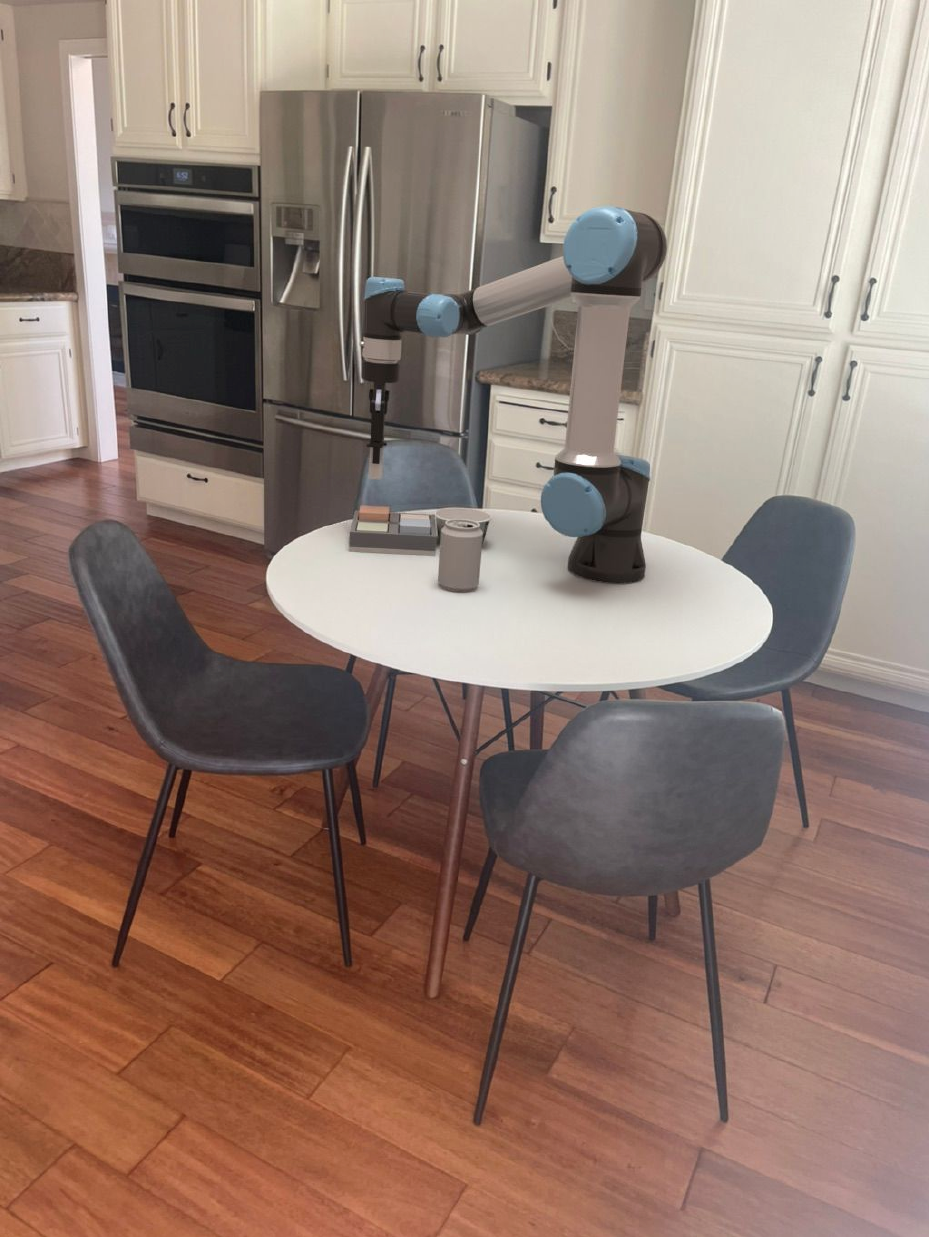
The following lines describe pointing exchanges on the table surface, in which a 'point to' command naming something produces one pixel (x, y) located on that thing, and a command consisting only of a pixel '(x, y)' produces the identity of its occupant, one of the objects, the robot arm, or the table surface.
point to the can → (460, 555)
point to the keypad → (392, 538)
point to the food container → (462, 513)
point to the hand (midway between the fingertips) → (375, 478)
